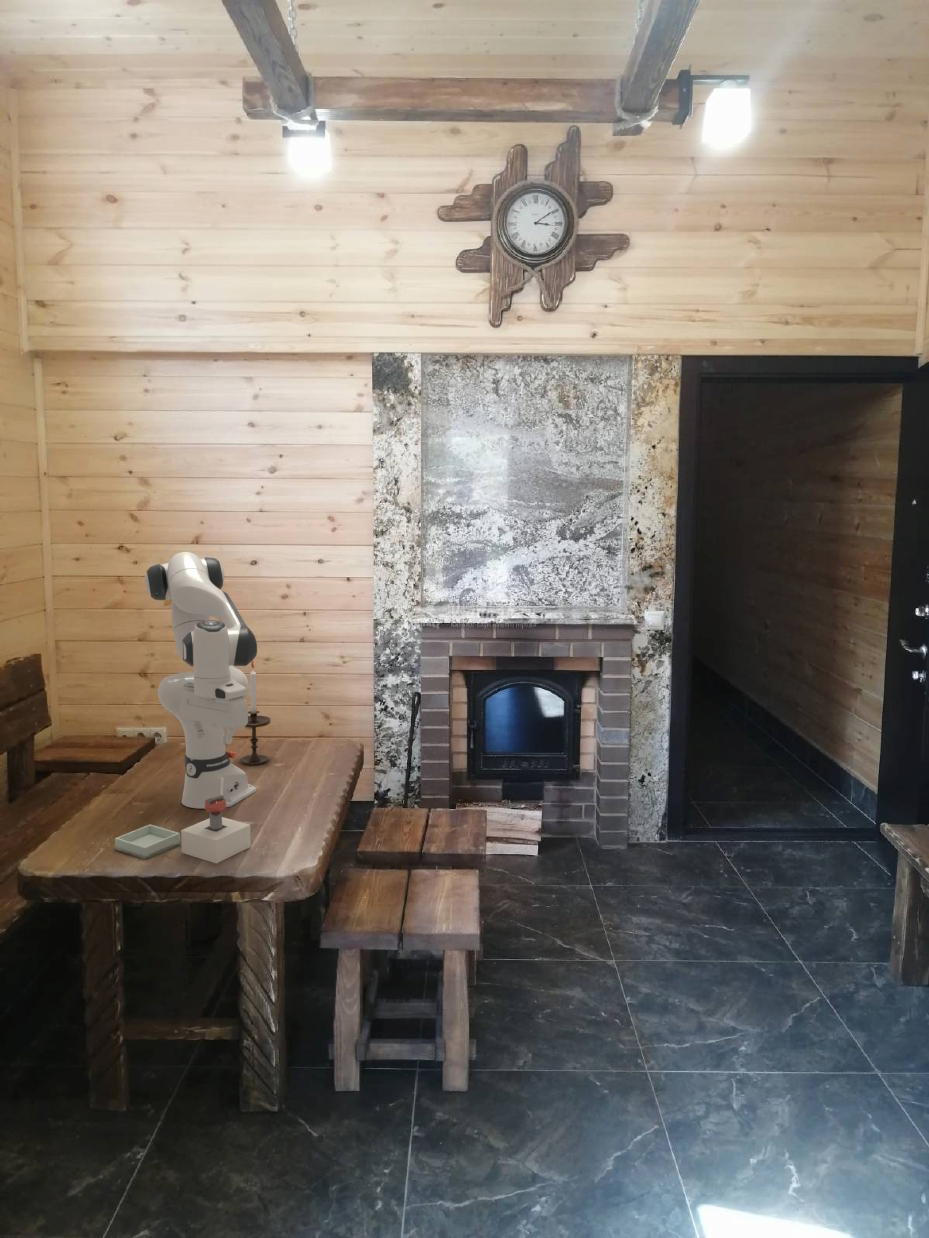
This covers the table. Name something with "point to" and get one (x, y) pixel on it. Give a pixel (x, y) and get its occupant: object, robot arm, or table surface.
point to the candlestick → (254, 726)
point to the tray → (147, 841)
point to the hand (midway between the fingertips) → (213, 740)
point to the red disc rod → (215, 811)
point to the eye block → (215, 840)
